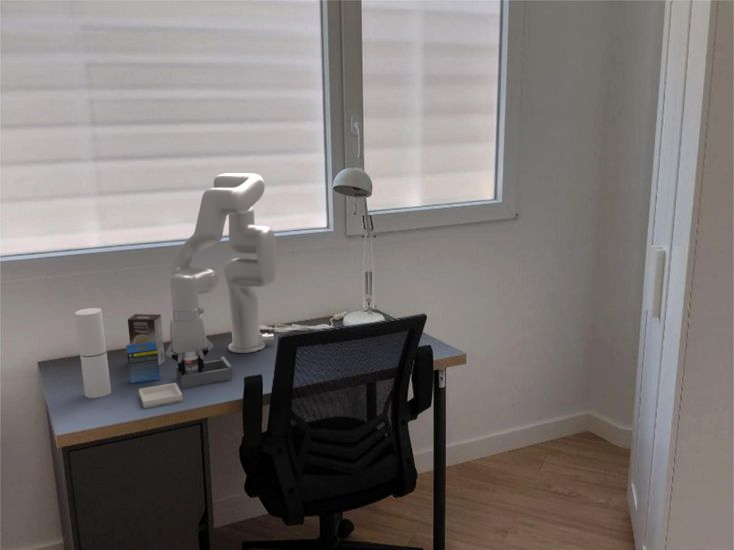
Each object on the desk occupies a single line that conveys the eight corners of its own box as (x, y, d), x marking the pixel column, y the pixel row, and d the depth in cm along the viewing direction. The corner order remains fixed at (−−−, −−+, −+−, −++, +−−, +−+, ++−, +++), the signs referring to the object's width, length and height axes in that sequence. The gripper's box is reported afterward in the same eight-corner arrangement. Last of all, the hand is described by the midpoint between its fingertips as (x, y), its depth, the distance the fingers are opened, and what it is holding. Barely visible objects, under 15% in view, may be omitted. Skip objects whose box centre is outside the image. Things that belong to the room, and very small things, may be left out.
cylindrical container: (95, 399, 204) (85, 315, 199) (79, 395, 208) (69, 312, 203) (116, 391, 210) (106, 309, 205) (100, 387, 214) (90, 306, 208)
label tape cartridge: (159, 375, 222) (156, 337, 220) (160, 379, 219) (156, 341, 216) (130, 379, 220) (125, 341, 217) (130, 384, 216) (125, 345, 213)
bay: (224, 369, 226) (223, 356, 225) (232, 379, 217) (231, 366, 216) (176, 377, 220) (175, 364, 219) (182, 388, 211) (181, 374, 210)
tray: (176, 388, 211) (175, 382, 210) (182, 401, 201) (182, 394, 201) (139, 395, 206) (138, 389, 206) (144, 408, 197) (143, 401, 197)
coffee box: (131, 366, 231) (125, 319, 228) (139, 360, 237) (134, 313, 234) (158, 367, 230) (153, 319, 227) (165, 360, 236) (161, 313, 233)
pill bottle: (186, 380, 214) (183, 353, 212) (182, 375, 218) (179, 349, 216) (201, 376, 216) (199, 350, 214) (197, 372, 220) (195, 346, 218)
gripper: (211, 307, 219) (216, 363, 223) (155, 315, 212) (160, 373, 216) (217, 313, 213) (222, 371, 217) (159, 321, 206) (164, 381, 210)
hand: (191, 371), depth 216 cm, fingers closed on pill bottle, 4 cm apart
